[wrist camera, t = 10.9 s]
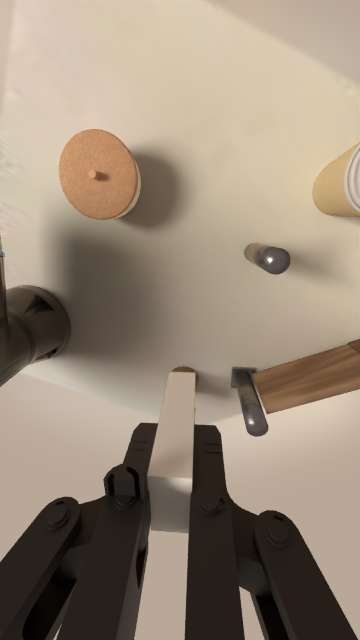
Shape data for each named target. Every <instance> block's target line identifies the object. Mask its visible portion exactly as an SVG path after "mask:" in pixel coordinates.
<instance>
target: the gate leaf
mask: <svg viewBox="0 0 360 640" xmlns="http://www.w3.org/2000/svg"><path fill="white" fill-rule="evenodd" d="M252 375H253V378H254V381H255V383H256V386H257V389H258V392H259V394H260V397H261V400H262V402H263V405H264V408H265V410H266V413H267V414H270V413H274V412H277V411H281V410H285V409H288V408H292V407H296V406H299V405H303V404H307V403H310V402H314V401H318V400H321V399H325V398H329V397H332V396H336V395H340V394H343V393H347V392H351V391H354V390H358V389H360V339H359V340H356V341H352V342H349V343H348V345H344V346H341V347H338V348H335V349H331V350H328V351H325V352H322V353H318V354H315V355H312V356H309V357H305V358H302V359H299V360H296V361H292V362H289V363H286V364H283V365H280V366H276V367H273V368H270V369H267V370H263V371H260V372H257V373H254V374H252Z"/></svg>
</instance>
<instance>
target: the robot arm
mask: <svg viewBox="0 0 360 640" xmlns="http://www.w3.org/2000/svg"><path fill="white" fill-rule="evenodd" d="M3 257H5V254H4V253H3V251H2V244H1V237H0V387H1V386H2V385H3V384H4V383H5V382H7V381H8V380H9V379H10V378H12V377H13V376H14V375H15V374H17V373H18V372H19V371H20V370H22V369H23V368H24V367H25V366H27V365H30V364H33V363H36V362H40V361H43V360H47V359H49V358H51V357H53V356H54V355H56V354H57V353H58V352H59V351H61V350H62V349H63V348H64V347H65V345H66V344H67V342H68V339H69V336H70V322H69V318H68V315H67V313H66V311H65V309H64V307H63V306H62V305H61V303H60V302H59V301H58V300H57V299H56V298H55V297H54V296H52V295H51V294H50V293H48V292H47V291H45V290H43V289H40V288H38V287H34V286H27V285H23V286H17V287H13V288H10V289H7V290H6V286H5V272H4V258H3ZM194 424H195V373H191V372H169V377H168V381H167V386H166V390H165V395H164V400H163V404H162V409H161V414H160V418H159V423H157V424H156V423H140V424H139V425H138V426H137V428H136V429H135V430H134V431H133V434H132V438H131V442H130V443H129V446H128V450H127V453H126V456H125V459H124V461H123V464H120V465H118V466H116V467H113V468H112V469H111V470H110V471H109V472H108V473H107V474H106V476H105V478H104V487H105V494H106V495H105V496H103V497H101V498H99V499H97V500H94V501H90V502H86V503H83V504H78V501H77V500H75V499H74V498H72V497H62V498H58V499H56V500H54V501H52V502H51V503H49V504H48V505H47V506H46V507H45V508H44V509H43V510H42V511H41V512H40V513H39V514H38V516H37V517H36V519H34V521H33V522H32V523H31V524H30V526H29V527H28V528H27V530H26V531H25V532H24V533H23V534H22V536H21V537H20V538H19V539H18V541H17V542H16V543H15V544H14V546H13V547H12V548H11V549H10V551H9V552H8V553H7V554H6V556H5V557H4V558H3V559H2V561H1V562H0V640H53V639H54V637H55V635H56V633H57V631H58V629H59V628H60V630H59V633H58V636H57V639H56V640H134V636H135V630H136V623H137V618H138V611H139V605H140V599H141V592H142V586H143V580H144V574H145V567H146V561H147V555H148V535H149V529H150V525H151V530H155V531H167V532H179V533H180V532H181V533H189V543H188V568H187V569H188V570H187V594H186V621H185V640H245V637H244V629H243V619H242V609H241V600H240V591H239V586H240V587H242V588H243V589H246V590H247V591H249V592H250V594H251V598H252V601H253V604H254V607H255V610H256V613H257V616H258V620H259V623H260V626H261V629H262V632H263V636H264V639H265V640H358V639H357V637H356V635H355V633H354V631H353V629H352V628H351V626H350V624H349V622H348V620H347V618H346V617H345V615H344V613H343V611H342V609H341V607H340V606H339V604H338V602H337V600H336V598H335V597H334V595H333V593H332V591H331V589H330V588H329V585H328V584H327V582H326V580H325V578H324V576H323V574H322V572H321V571H320V569H319V567H318V565H317V563H316V561H315V560H314V558H313V556H312V554H311V552H310V550H309V548H308V547H307V545H306V543H305V541H304V539H303V538H302V536H301V534H300V532H299V530H298V529H297V527H296V526H295V524H294V523H293V522H292V520H290V519H289V518H288V517H287V516H285V515H284V514H282V513H280V512H277V511H270V510H267V511H264V512H262V513H260V514H259V516H258V515H256V514H253V513H251V512H249V511H246V510H244V509H242V508H241V507H239V506H238V505H237V504H236V503H234V501H233V500H232V499H231V498H230V496H229V494H228V492H227V488H226V480H225V472H224V471H225V470H224V462H223V452H222V441H221V434H220V432H219V431H218V429H217V427H216V426H214V425H194ZM61 624H62V625H61ZM60 626H61V627H60Z"/></svg>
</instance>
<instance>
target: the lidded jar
mask: <svg viewBox="0 0 360 640" xmlns="http://www.w3.org/2000/svg"><path fill="white" fill-rule="evenodd" d="M59 177H60V182H61V186H62V189H63V191H64V193H65V195H66V197H67V199H68V200H69V202H70V203H71V204H72V205H73V206H74V208H76V209H77V210H78V211H79V212H81V213H82V214H84V215H86V216H88V217H90V218H94V219H101V220H105V219H114V218H118V217H121V216H123V215H125V214H126V213H128V212H129V211H130V210H131V209H132V208H133V207H134V205H135V204H136V202H137V200H138V198H139V195H140V190H141V178H140V172H139V169H138V166H137V164H136V161H135V160H134V158H133V156H132V155H131V153H130V151H129V150H128V148H127V147H126V146H125V145H124V143H123V142H122V141H121V140H119V139H118V138H117V137H116V136H114V135H113V134H111V133H109V132H106V131H103V130H97V129H91V130H85V131H82V132H80V133H78V134H77V135H75V136H74V137H73V138H71V139H70V141H69V142H68V143H67V144H66V146H65V148H64V149H63V152H62V155H61V158H60V163H59Z"/></svg>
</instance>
